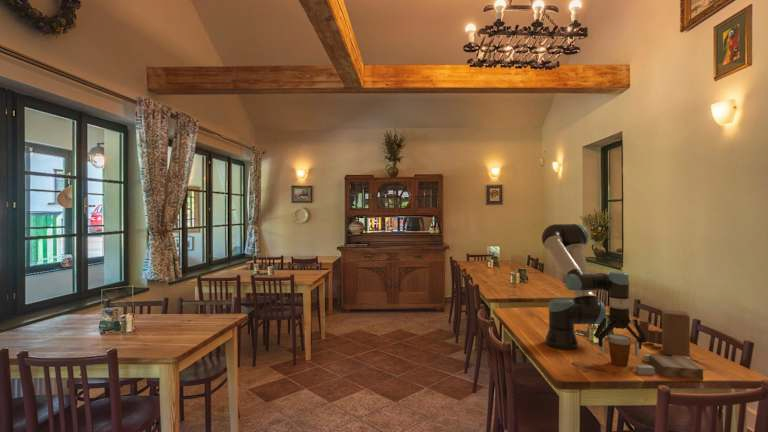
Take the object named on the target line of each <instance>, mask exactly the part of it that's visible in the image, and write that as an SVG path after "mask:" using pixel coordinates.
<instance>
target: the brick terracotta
mask: <svg viewBox="0 0 768 432" xmlns="http://www.w3.org/2000/svg"><path fill="white" fill-rule="evenodd" d="M672 356H673V357H686V356H678V355H672ZM686 358H687V359H689V360H690V361H691V358H690V357H686Z"/></svg>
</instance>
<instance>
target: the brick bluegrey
mask: <svg viewBox="0 0 768 432" xmlns="http://www.w3.org/2000/svg"><path fill="white" fill-rule="evenodd" d="M655 370H656V369H655V368H654V367H653V366H652V365H650V364H635V372H636V373H637V374H638V375H650V376H652V375H656V371H655Z"/></svg>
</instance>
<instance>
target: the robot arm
mask: <svg viewBox="0 0 768 432" xmlns="http://www.w3.org/2000/svg"><path fill="white" fill-rule="evenodd" d="M541 242H542V244H543V246H544V248H545V249H546V250H547V251H549V252H550V254H551V256H552V257H553V258H554V260H555V262H556V264H557V265H558V266H559V268H560V270H561V271H562V273H563V274H564V278H563V279H564V280H563V281H564V287H565V288H566V289H567V290H569V291H573V292H574V296H573V297H572V298H571V297H558V298H557V297H556V298H552V299H550V301H549V302H548V303H549V304H548V324H549V325H548V331H547V333H546V336H545V344H546V345H547V347H551V348H554V349H560V350H574V349H578V348H579V341H578V338H577V336H576V333H575V325H597V324H598V326H597V328H596V330H595V332H594V334H593V336H594V338H596V339H598V346H599V347H600V353H601V355H602V356H603V355H604V356H605V353H606V352H605V351H606V350H605V342H606V341H605V339H604V338H606V336H608V335H609V333H610V332H611V331H612V330H614V329H622V330H624V329H626V330H627V331H628V332H629V333H630V334H631V335H632V336H633V337H634V339H635V340H634V356H635V357H637V358H640V350H642V343H643V342H647V341H646V338H645V336H644V334H643V333H642V331H641V329H640V327H639V321H638V319H637V318H635V317H633V318H630V309H629V307H630V287H629V286H630V281H629V274H628V273H626V272H622V271H611V272H609V274H608V273H605V272H603V273H602V272H596V273H589V269H588V265H587V260H586V256H585V251H584V249H585V248H586V245H587V244H588V242H589V233H588V231H587V229H586V228H585V226H584V225H582V224H578V223H577V224H576V223H569V224H568V223H563V224H561V223H560V224H559V223H557V224H556V223H555V224H550V225H549V226H547V227H546V228H545V229H543V231H542V234H541ZM594 291H608V292H609V293H608V295H609V297H608V298H609V301H608V302H609V303H608V304H609V317H606V307H605V304H604V302H603V301H601V300H599V299H598V296H597V295H596V294H595V293H594ZM608 322H609V324H608V326H607V327H605V325H607V323H608ZM630 323H631V324H632V325H633V327H634V328H635V330H636V332H637V333H635V332H634V330H633V329H632V328H631V327H630V326H629V325H630ZM604 328H605V329H604ZM638 334H639V335H640V337H641V338H639V337H638Z"/></svg>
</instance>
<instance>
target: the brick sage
mask: <svg viewBox="0 0 768 432" xmlns="http://www.w3.org/2000/svg"><path fill="white" fill-rule="evenodd" d="M650 355H652V354H649V353H648V354H647V353H643V362H644V363H649V364H650Z"/></svg>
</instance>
